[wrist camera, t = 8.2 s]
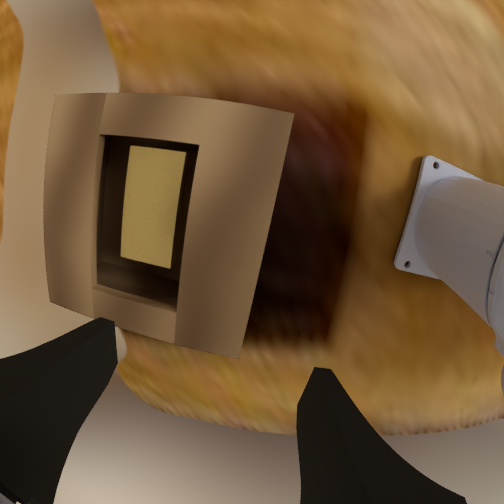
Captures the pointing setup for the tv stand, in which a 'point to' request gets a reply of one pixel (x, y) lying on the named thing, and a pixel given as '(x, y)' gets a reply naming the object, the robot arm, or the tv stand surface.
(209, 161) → the box
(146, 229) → the block
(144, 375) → the tv stand surface
